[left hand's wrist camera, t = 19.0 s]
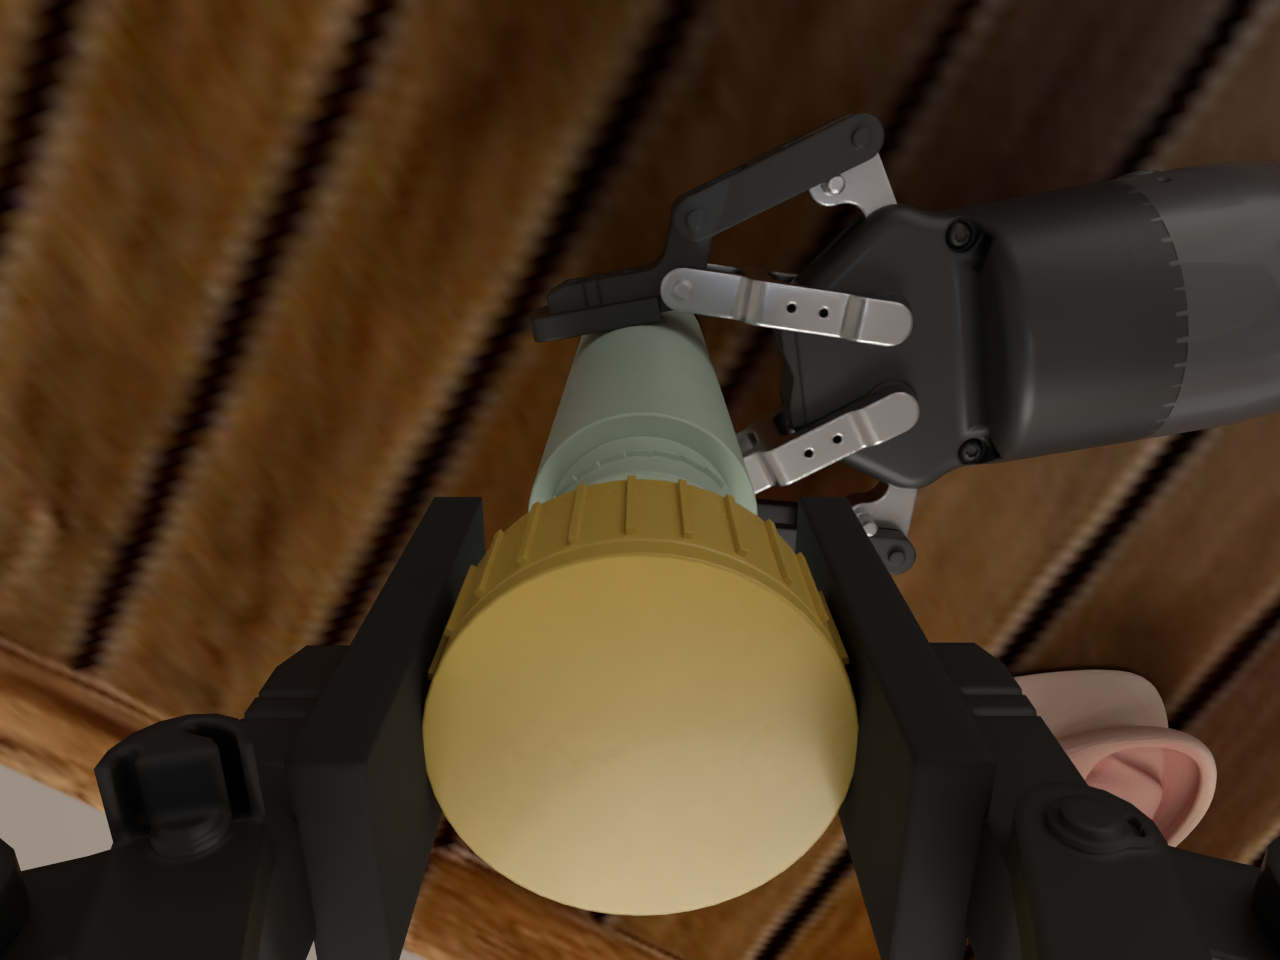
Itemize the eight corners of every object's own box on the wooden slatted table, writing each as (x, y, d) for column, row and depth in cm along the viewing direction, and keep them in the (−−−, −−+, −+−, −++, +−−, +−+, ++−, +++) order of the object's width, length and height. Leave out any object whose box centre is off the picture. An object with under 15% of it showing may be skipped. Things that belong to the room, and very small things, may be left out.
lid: (896, 556, 12) (951, 645, 10) (731, 840, 14) (748, 969, 12) (530, 411, 11) (504, 475, 9) (405, 730, 13) (360, 846, 11)
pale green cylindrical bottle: (557, 329, 33) (461, 532, 15) (662, 262, 32) (685, 396, 15) (624, 429, 34) (605, 720, 17) (726, 367, 33) (818, 605, 16)
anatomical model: (870, 951, 38) (901, 722, 34) (850, 879, 42) (875, 665, 38) (1183, 954, 38) (1250, 726, 34) (1134, 882, 42) (1190, 669, 38)
